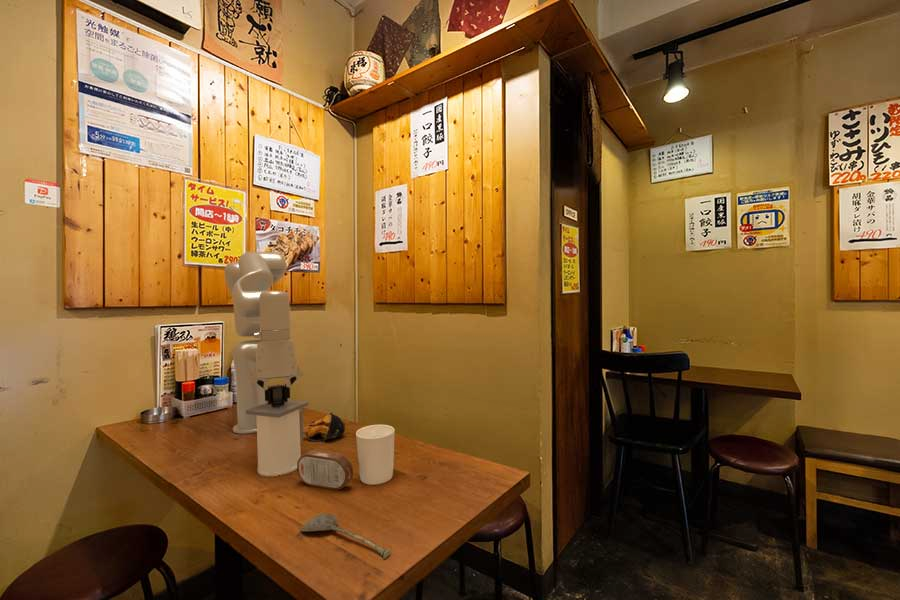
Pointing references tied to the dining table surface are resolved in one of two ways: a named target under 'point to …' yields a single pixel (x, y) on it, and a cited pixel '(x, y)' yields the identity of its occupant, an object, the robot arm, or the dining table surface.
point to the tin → (325, 469)
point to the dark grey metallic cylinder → (277, 395)
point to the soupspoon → (330, 523)
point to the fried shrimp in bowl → (325, 428)
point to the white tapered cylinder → (375, 453)
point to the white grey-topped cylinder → (278, 437)
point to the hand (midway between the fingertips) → (277, 401)
